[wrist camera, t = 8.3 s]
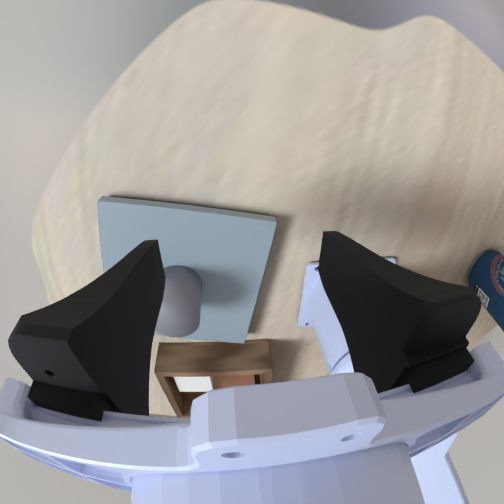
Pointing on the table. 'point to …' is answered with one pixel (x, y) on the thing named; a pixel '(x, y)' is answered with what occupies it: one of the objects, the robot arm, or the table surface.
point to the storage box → (209, 366)
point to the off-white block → (194, 384)
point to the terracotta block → (237, 380)
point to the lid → (194, 262)
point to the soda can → (489, 283)
